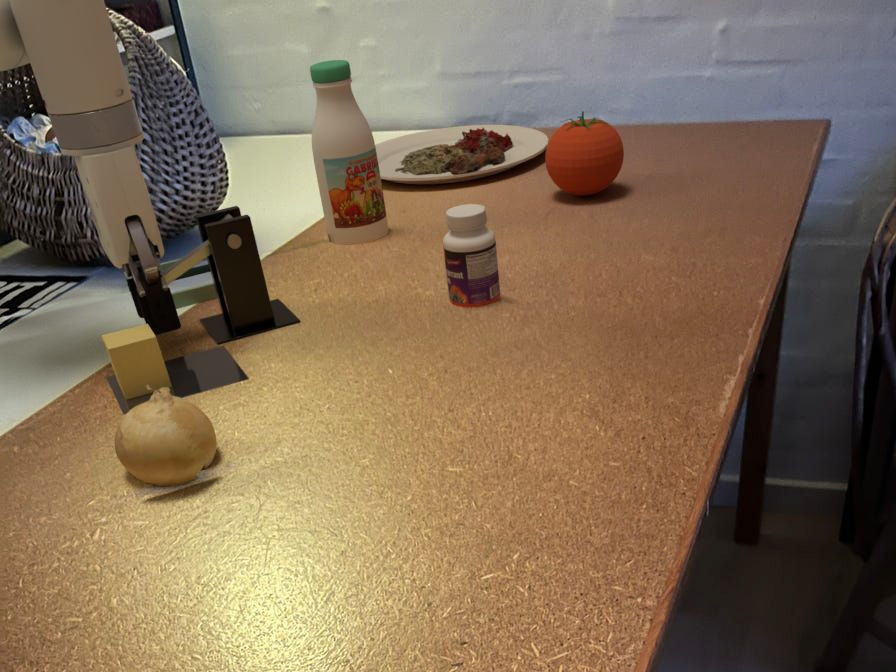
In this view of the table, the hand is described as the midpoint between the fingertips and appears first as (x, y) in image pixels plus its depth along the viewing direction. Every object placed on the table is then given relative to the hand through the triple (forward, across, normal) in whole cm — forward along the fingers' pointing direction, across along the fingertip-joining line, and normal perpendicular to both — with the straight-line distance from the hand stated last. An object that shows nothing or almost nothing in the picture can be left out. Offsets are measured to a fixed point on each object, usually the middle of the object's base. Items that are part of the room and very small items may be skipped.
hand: (159, 321), depth 100 cm
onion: (+4, +27, -5) cm, 28 cm away
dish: (+3, -16, +6) cm, 17 cm away
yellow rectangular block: (+2, +10, -4) cm, 11 cm away
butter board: (+3, +10, -1) cm, 10 cm away
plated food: (+4, -46, +54) cm, 71 cm away
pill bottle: (+4, +10, +31) cm, 33 cm away
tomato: (+4, -16, +60) cm, 62 cm away
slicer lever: (-4, 0, +5) cm, 6 cm away
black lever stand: (+3, 0, +9) cm, 10 cm away
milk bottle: (+4, -20, +29) cm, 35 cm away
